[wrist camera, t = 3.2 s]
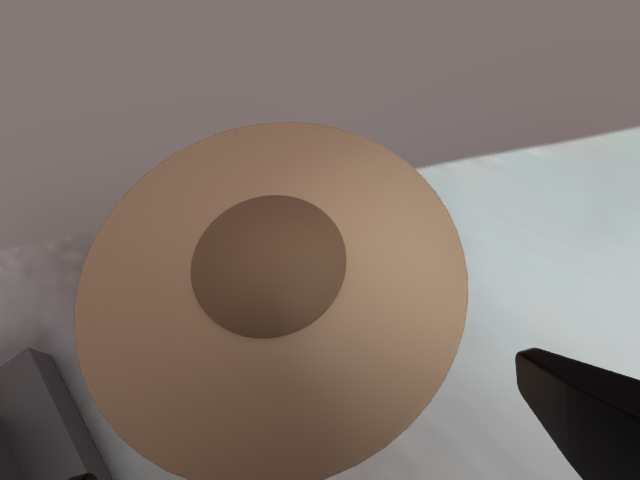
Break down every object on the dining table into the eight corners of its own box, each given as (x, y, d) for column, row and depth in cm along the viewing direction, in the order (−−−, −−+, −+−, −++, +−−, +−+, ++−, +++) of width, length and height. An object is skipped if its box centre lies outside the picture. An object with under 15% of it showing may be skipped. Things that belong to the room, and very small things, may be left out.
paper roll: (361, 489, 15) (410, 594, 4) (229, 429, 17) (-21, 380, 5) (401, 346, 18) (499, 162, 7) (284, 305, 19) (197, 91, 8)
